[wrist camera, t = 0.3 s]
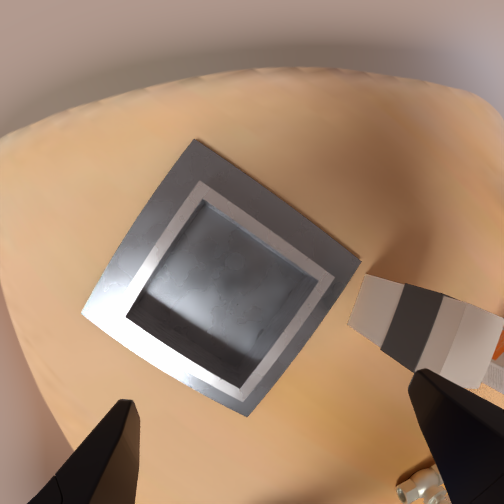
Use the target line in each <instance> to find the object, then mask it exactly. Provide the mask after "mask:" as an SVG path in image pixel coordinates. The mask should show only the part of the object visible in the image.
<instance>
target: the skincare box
mask: <svg viewBox="0 0 504 504" xmlns="http://www.w3.org/2000/svg"><path fill="white" fill-rule="evenodd" d="M482 383H484V384H486V385H488V386H490V387H491V388H493V389H495V390H497V391H498V392H500V393H502V394H504V328H503V329H502V332H501V335H500V338H499V341H498V343H497V346H496V349H495V351H494V354H493V356H492V359H491V361H490V364H489V366H488V368H487V371H486V373H485V375H484V377H483V380H482Z"/></svg>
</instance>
